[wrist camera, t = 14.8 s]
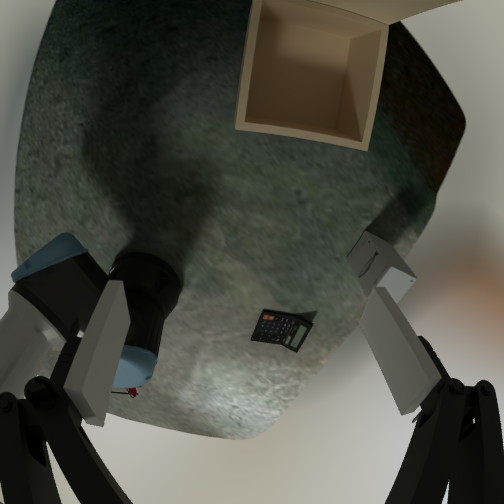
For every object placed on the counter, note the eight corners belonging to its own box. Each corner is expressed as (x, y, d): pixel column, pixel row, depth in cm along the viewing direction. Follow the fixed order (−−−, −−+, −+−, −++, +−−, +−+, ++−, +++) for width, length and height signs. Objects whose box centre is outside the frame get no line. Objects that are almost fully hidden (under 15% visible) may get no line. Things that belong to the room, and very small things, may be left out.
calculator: (262, 308, 64) (264, 318, 61) (311, 316, 66) (314, 325, 63) (250, 337, 68) (251, 347, 66) (296, 343, 71) (298, 353, 68)
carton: (234, 119, 43) (235, 129, 33) (249, 14, 34) (254, -9, 24) (337, 135, 45) (367, 151, 35) (354, 36, 36) (389, 25, 26)
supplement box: (364, 228, 55) (392, 264, 44) (390, 242, 57) (419, 278, 46) (344, 258, 58) (366, 298, 47) (370, 270, 60) (394, 309, 49)
